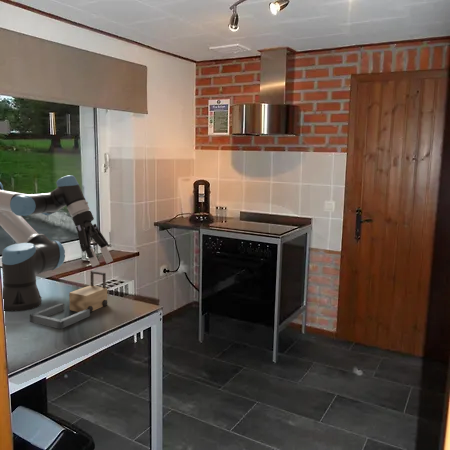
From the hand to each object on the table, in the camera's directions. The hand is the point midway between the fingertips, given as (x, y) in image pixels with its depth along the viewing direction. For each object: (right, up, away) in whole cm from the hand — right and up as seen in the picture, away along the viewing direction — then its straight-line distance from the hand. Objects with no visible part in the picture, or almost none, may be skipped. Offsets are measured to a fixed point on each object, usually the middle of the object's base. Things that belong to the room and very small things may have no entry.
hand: (103, 263), depth 176 cm
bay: (-12, -19, -12) cm, 25 cm away
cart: (-6, -17, +1) cm, 18 cm away
